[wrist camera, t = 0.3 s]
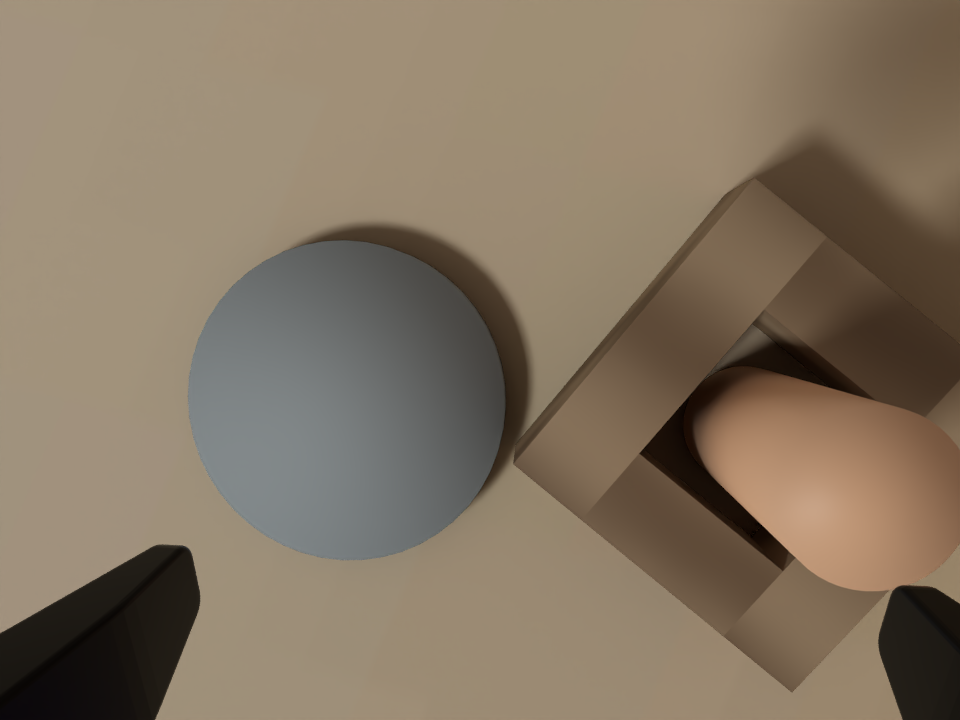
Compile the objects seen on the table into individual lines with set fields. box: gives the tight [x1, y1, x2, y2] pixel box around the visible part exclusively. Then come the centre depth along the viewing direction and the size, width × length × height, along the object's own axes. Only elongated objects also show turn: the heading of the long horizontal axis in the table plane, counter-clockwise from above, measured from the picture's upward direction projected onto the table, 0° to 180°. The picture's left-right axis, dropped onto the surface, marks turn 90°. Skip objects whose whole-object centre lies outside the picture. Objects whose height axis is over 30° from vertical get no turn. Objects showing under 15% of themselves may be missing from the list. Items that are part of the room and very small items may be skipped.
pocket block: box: [513, 178, 960, 692], centre depth 22 cm, size 11×11×3 cm
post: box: [683, 366, 960, 591], centre depth 19 cm, size 4×4×9 cm
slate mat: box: [188, 240, 506, 560], centre depth 24 cm, size 11×11×1 cm
